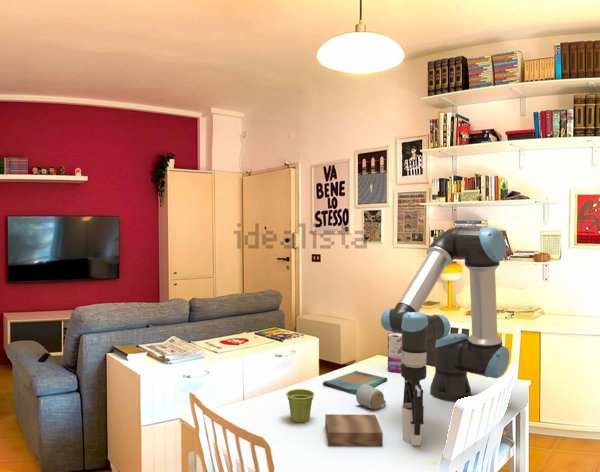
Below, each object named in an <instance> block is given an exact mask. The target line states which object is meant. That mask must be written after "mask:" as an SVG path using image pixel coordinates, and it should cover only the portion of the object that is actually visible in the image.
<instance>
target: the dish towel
mask: <svg viewBox="0 0 600 472" xmlns="http://www.w3.org/2000/svg"><path fill="white" fill-rule="evenodd" d="M386 382H388V377H384V376H379V375H375V374H370V373H367V372H363V371H358V370H354V371H352V372H348V373H346V374H343V375H340V376H338V377H335V378H332V379H330V380H324V381H323V382H322V386H323V387H326V388H330V389H334V390H336V391H340V392H344V393H347V394H350V395H354V396H356V393H357V390H358V388H359V387H360V386H361V385H363V384H368V385H370V386H372V387H374V388H375V387H377V386H380V385H381V384H383V383H386Z"/></svg>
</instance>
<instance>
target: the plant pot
mask: <svg viewBox="0 0 600 472" xmlns="http://www.w3.org/2000/svg"><path fill="white" fill-rule="evenodd" d="M285 396H286V397H287V400H288V404H289V414H290V419H291V421H292V422H294V423H295V422H298V423H306V422H308V421H309V420H310V419H311V409H312V404H313V403H312V402H313V399H314V397H315V392H314V391H312V390H309V389H305V388H297V389H296V388H294V389H290V390H289V391H287V392H286V393H285Z"/></svg>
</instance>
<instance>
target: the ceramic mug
mask: <svg viewBox="0 0 600 472" xmlns="http://www.w3.org/2000/svg"><path fill="white" fill-rule="evenodd" d="M384 397H385V396H384V394H383V392H382V391H381V390H379V389H378V388H375V387H372V386H370V385H368V384H363V385H361V386H360V387H359V388H358V390H357V393H356V395H355V399H356V402H357V404H360V405H362V406H364V407H366V408H369V409H371V410H378V409H380V408H381V407H382V406H383V405H384V406H385V405H386V403H387V400H385V398H384Z"/></svg>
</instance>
